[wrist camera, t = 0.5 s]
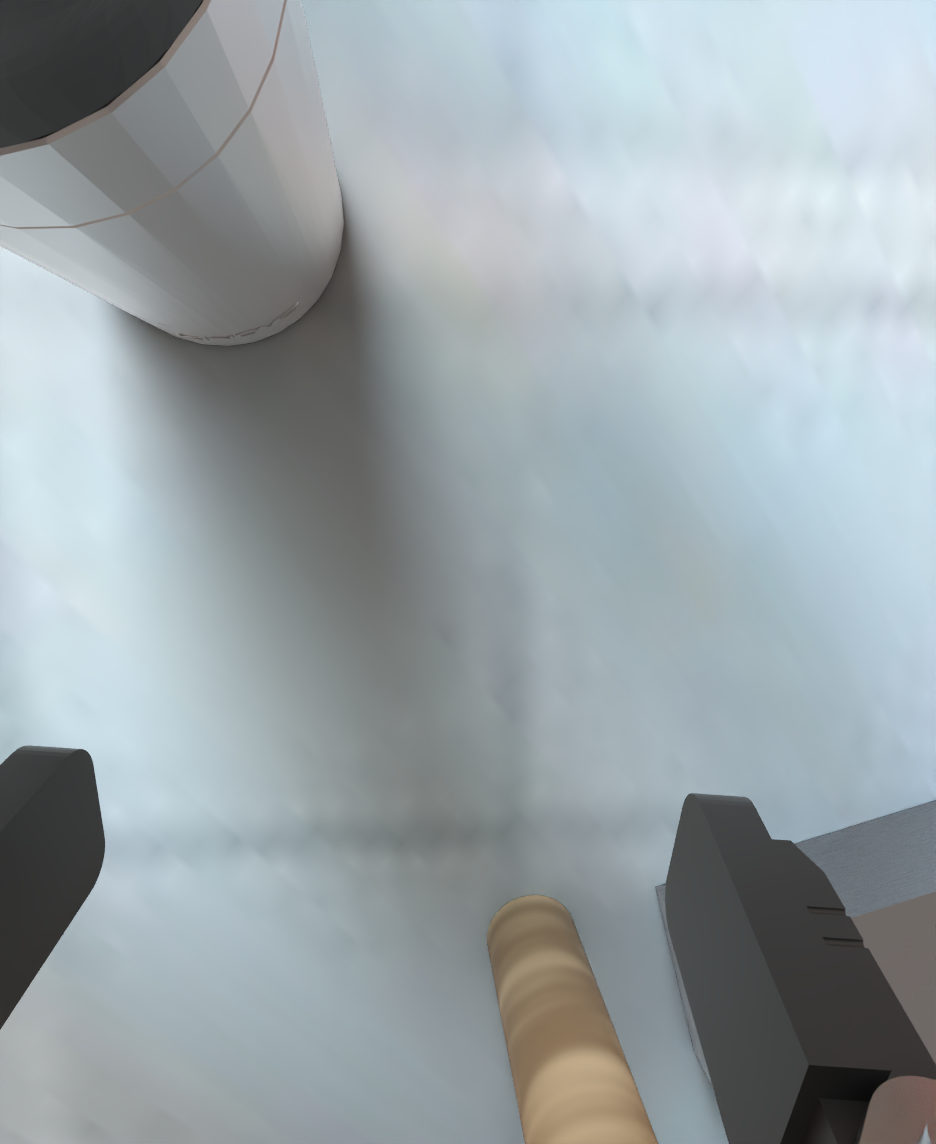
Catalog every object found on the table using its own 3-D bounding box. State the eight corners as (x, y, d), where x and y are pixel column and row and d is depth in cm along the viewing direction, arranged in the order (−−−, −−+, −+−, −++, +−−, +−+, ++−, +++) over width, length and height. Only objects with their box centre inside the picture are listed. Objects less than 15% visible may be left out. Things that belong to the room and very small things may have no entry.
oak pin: (452, 898, 31) (527, 1476, 14) (578, 860, 32) (810, 1377, 14) (485, 1008, 32) (594, 1676, 15) (606, 970, 33) (855, 1578, 15)
